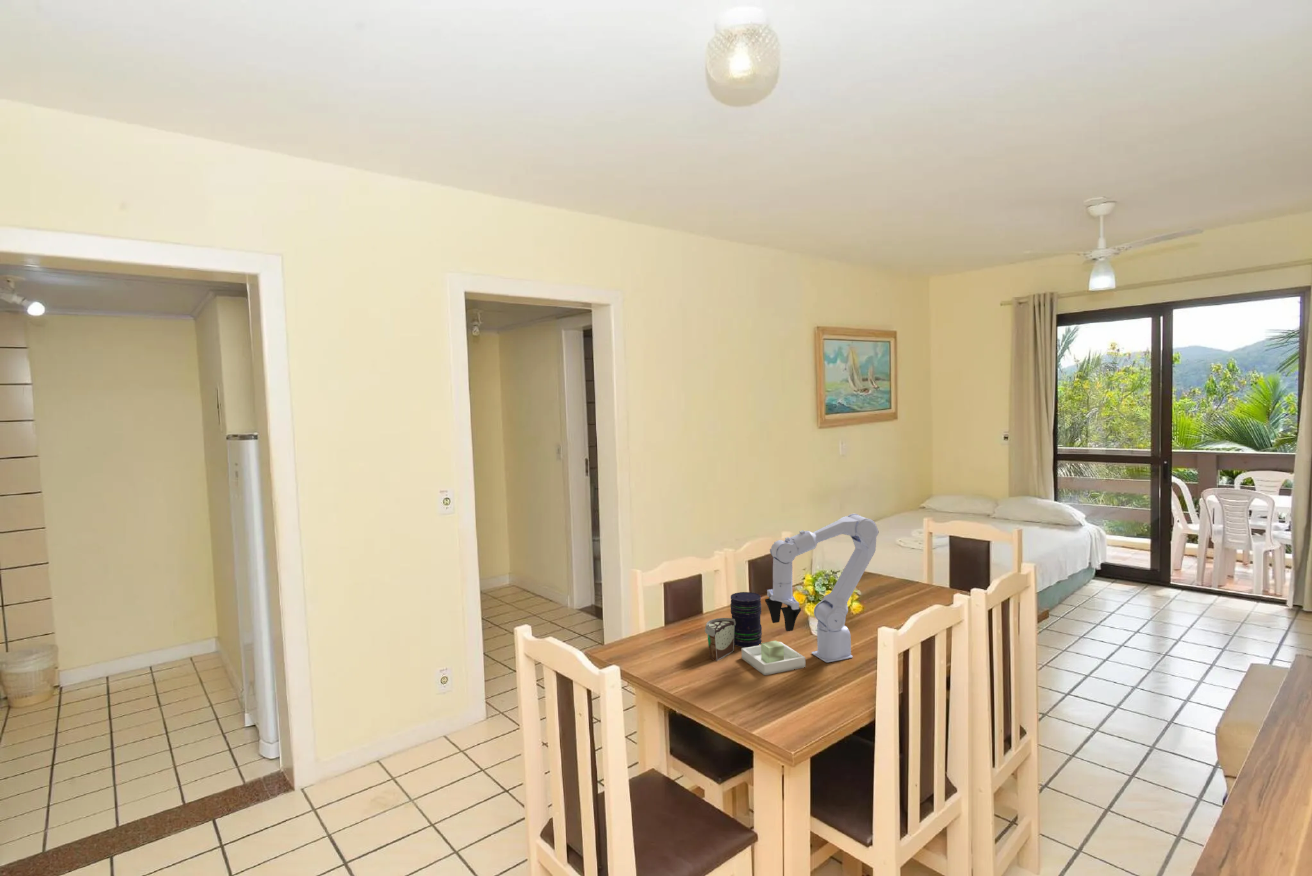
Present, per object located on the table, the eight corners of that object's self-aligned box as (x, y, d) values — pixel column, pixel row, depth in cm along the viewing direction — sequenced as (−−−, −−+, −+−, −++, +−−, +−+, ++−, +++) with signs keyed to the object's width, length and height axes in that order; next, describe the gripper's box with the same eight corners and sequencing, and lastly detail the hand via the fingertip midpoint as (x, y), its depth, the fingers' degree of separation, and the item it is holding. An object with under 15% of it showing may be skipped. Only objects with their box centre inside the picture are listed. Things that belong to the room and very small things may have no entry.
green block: (775, 656, 195) (775, 640, 195) (783, 662, 191) (783, 645, 191) (761, 659, 194) (761, 643, 193) (769, 665, 189) (769, 648, 189)
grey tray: (780, 651, 201) (780, 641, 201) (805, 667, 189) (805, 657, 189) (741, 658, 197) (741, 648, 196) (764, 675, 184) (764, 665, 184)
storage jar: (761, 636, 214) (760, 592, 213) (763, 647, 204) (762, 601, 204) (730, 636, 215) (729, 591, 214) (731, 647, 205) (730, 601, 205)
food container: (719, 645, 207) (719, 614, 207) (736, 649, 203) (735, 618, 203) (697, 658, 198) (696, 625, 197) (714, 662, 194) (713, 629, 193)
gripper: (758, 576, 198) (758, 620, 199) (784, 589, 184) (783, 636, 185) (778, 574, 201) (778, 617, 201) (805, 586, 187) (805, 633, 188)
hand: (782, 626), depth 193 cm, fingers open, 7 cm apart
